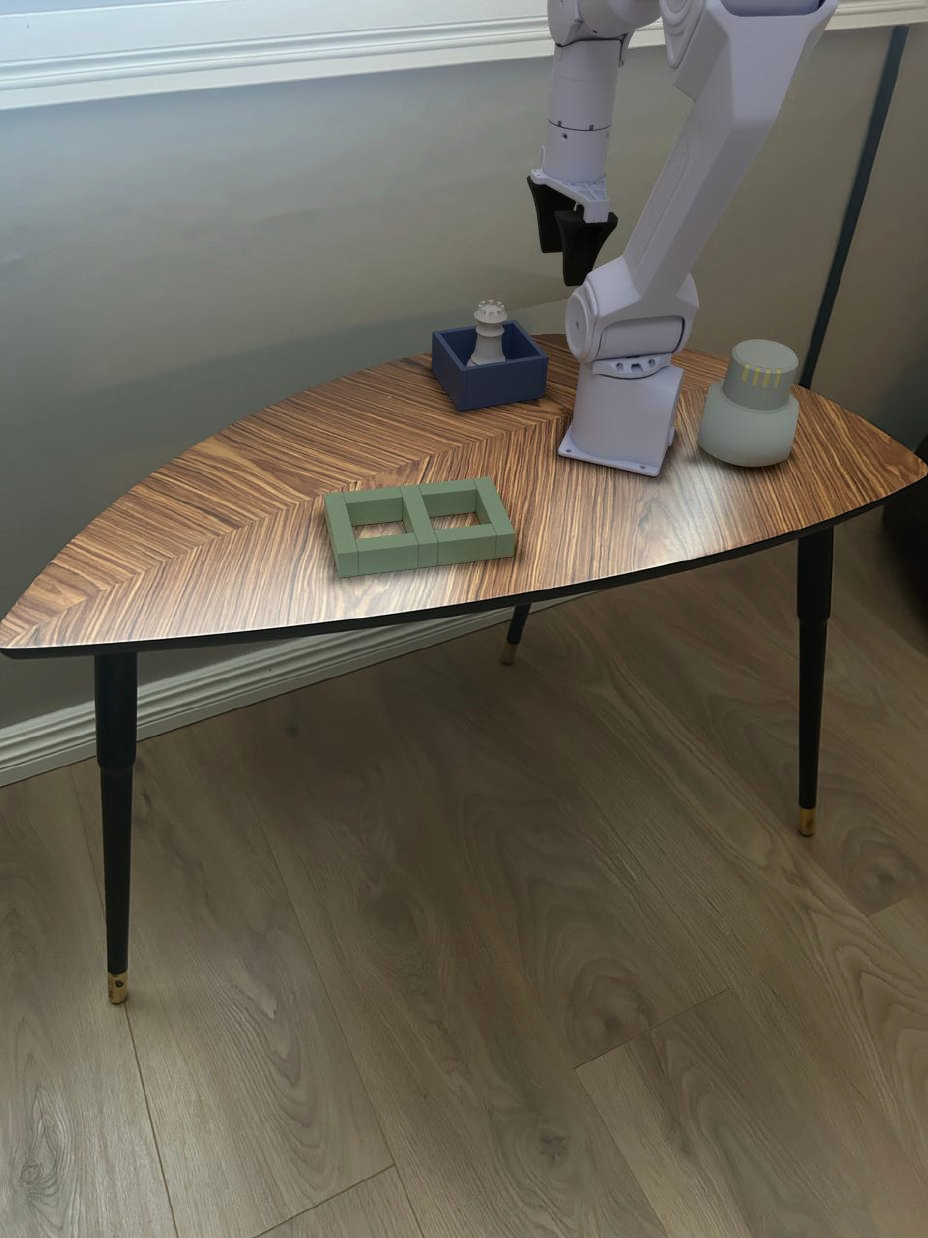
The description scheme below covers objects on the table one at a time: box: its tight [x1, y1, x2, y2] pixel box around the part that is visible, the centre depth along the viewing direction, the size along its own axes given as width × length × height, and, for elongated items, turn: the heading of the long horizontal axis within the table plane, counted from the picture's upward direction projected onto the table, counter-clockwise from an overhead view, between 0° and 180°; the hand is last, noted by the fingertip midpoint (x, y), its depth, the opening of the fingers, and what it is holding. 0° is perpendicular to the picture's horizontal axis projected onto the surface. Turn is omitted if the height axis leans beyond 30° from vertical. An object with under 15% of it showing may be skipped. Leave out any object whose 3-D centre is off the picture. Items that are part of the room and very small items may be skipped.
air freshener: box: [696, 338, 800, 468], centre depth 92 cm, size 11×8×10 cm
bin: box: [431, 319, 550, 412], centre depth 101 cm, size 9×8×4 cm
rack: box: [323, 476, 516, 579], centre depth 83 cm, size 14×8×2 cm, turn 104°
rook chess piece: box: [467, 299, 508, 367], centre depth 99 cm, size 4×4×8 cm
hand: (563, 267), depth 99 cm, fingers open, 7 cm apart
